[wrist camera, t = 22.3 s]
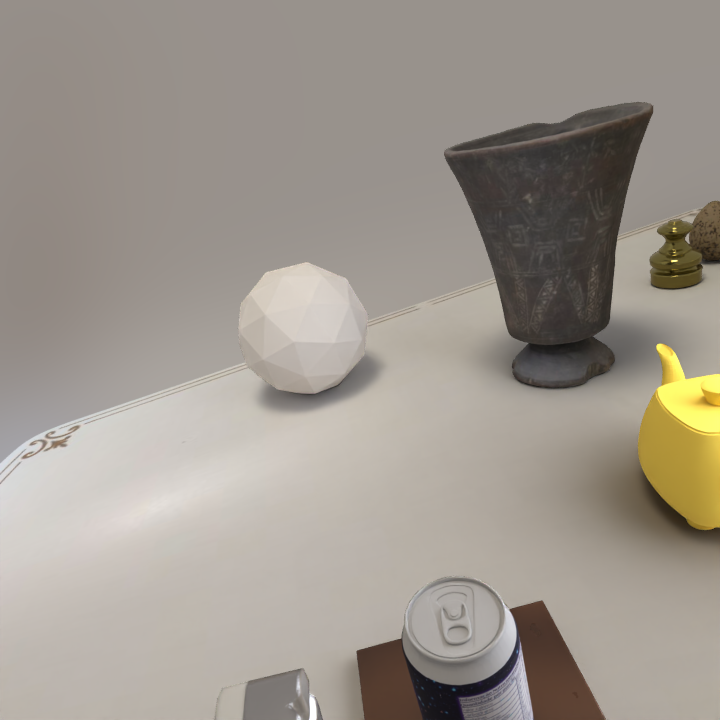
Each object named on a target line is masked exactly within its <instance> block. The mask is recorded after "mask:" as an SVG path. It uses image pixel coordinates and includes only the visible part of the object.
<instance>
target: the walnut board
mask: <svg viewBox="0 0 720 720" xmlns="http://www.w3.org/2000/svg"><path fill="white" fill-rule="evenodd" d="M509 610H510V612H511V613H512V615H513V616H514V618H515V621H516V623H517V627H518V632H519V638H520V643H521V649H522V655H523V660H524V666H525V672H526V677H527V683H528V689H529V694H530V700H531V706H532V712H533V717H534V720H606V718H605V716H604V715H603V713H602V711H601V709H600V707H599V705H598V703H597V702H596V700H595V698H594V696H593V694H592V692H591V690H590V688H589V687H588V685H587V683H586V681H585V679H584V677H583V675H582V673H581V672H580V670H579V668H578V666H577V664H576V662H575V660H574V658H573V657H572V655H571V653H570V651H569V649H568V647H567V645H566V644H565V642H564V640H563V638H562V636H561V634H560V632H559V630H558V629H557V627H556V625H555V623H554V621H553V619H552V617H551V615H550V614H549V612H548V610H547V608H546V606H545V604H544V602H543V601H538V602H534V603H531V604H527V605H523V606H520V607H516V608H512V609H509ZM401 639H402V638H401ZM401 639H398V640H394V641H390V642H387V643H383V644H379V645H376V646H372V647H368V648H365V649H361V650H357V660H358V668H359V677H360V685H361V694H362V702H363V711H364V719H365V720H423V718H422V715H421V711H420V708H419V705H418V701H417V698H416V694H415V691H414V688H413V684H412V681H411V677H410V674H409V671H408V667H407V664H406V660H405V657H404V654H403V650H402V640H401Z"/></svg>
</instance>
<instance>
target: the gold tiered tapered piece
mask: <svg viewBox="0 0 720 720" xmlns="http://www.w3.org/2000/svg"><path fill="white" fill-rule="evenodd" d="M693 228H694V226H693V224H691V223H689V222H686V221H682V220H680V219H674V220H670V221H669V222H668V223H666V224H663V225H662V226H660V227H659V228H658V229H657V233H658V234H660V235H662V236H663V237H664V238H665V240H666V242H665V244H664V245H663V246H662V247H661V248H660V249H659V251H657V252H655V253H654V254H653V255H652V256H651V257H650V265H651V266H652V267H653V268H652V269H651V270H650V273H651V284H652V285H654V286H656V287H660V288H669V289H673V288H684V287H689V286H692V285H695V284H697V283H699V282H700V281H701V280H702V269H703V267H702V265H701V264H699V263H700V262H701V261H702V258H703V254H702V252H701V251H700V250H698V249H696V248H693V247H692V245H690V244H688V243H687V242H686V241H685V237H686V235H687V234H688V233H689V232H690V231H692V230H693Z"/></svg>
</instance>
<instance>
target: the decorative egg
mask: <svg viewBox="0 0 720 720" xmlns="http://www.w3.org/2000/svg"><path fill="white" fill-rule="evenodd" d="M693 226H694V228H693V230H692V231H690V234H689V242H690V245H692V247H693V248H696V249H698V250H700V251H701V252H702V254H703V258H702V259H704V260H709V261H714V260H719V259H720V202H719V201H712V202H710V203H708V204H707V205H706V206H705V207H704V208H703V209H702V210H701V211H700V212H699V214H698V215H697V216H696V218H695V219H694V221H693Z"/></svg>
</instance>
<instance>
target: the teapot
mask: <svg viewBox="0 0 720 720" xmlns="http://www.w3.org/2000/svg"><path fill="white" fill-rule="evenodd" d="M656 348H657V352H658V354H659V356H660V359H661V363H662V369H663V377H662V386H660V387H659V388H658V389H657V390H656V391H655V393H654V395H653V396H652V398H651V400H650V403H649V405H648V407H647V409H646V411H645V414H644V416H643V419H642V423H641V427H640V432H639V439H638V456H639V460H640V463H641V466H642V469H643V471H644V473H645V475H646V477H647V479H648V480H649V482H650V483H651V484H652V486H653V487H654V489H655V490H656V491H657V492H658V493H659V495H660V496H661V497H662V498H663V499H664V500H665V501H666V502H667V503H668V504H669V505H670V506H671V507H672V508H674V509H675V510H676V511H677V512H678V513H680V514H681V515H682V516H684V517H685V518H687V519H686V520H687V522H688V523H689V525H691V526H692V527H694V528H697V529H700V530H710V529H713V528H715V527H720V374H716V375H709V376H703V377H697V378H692V379H687V380H686V379H685V376H684V373H683V371H682V368H681V365H680V363H679V361H678V358H677V356H676V354H675V353H674V351H673V350H672V349H671V348H670V347H668V346H667V345H665V344H658V345H657V347H656Z"/></svg>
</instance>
